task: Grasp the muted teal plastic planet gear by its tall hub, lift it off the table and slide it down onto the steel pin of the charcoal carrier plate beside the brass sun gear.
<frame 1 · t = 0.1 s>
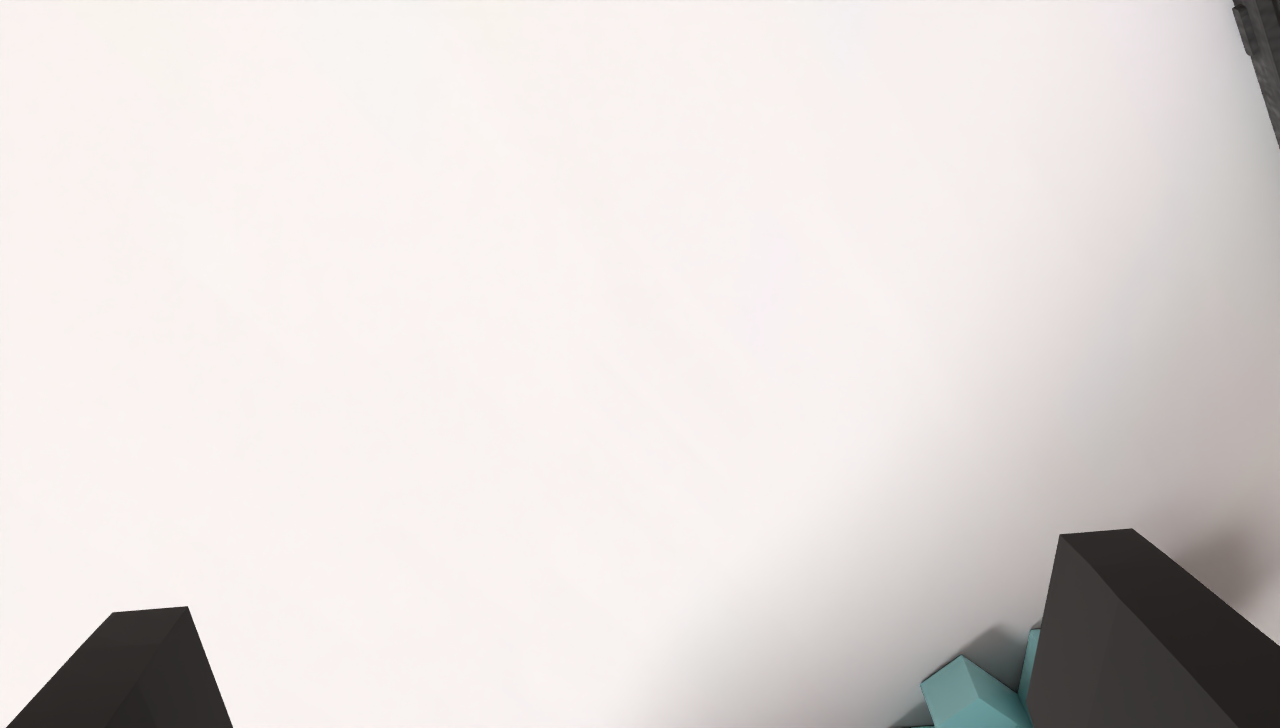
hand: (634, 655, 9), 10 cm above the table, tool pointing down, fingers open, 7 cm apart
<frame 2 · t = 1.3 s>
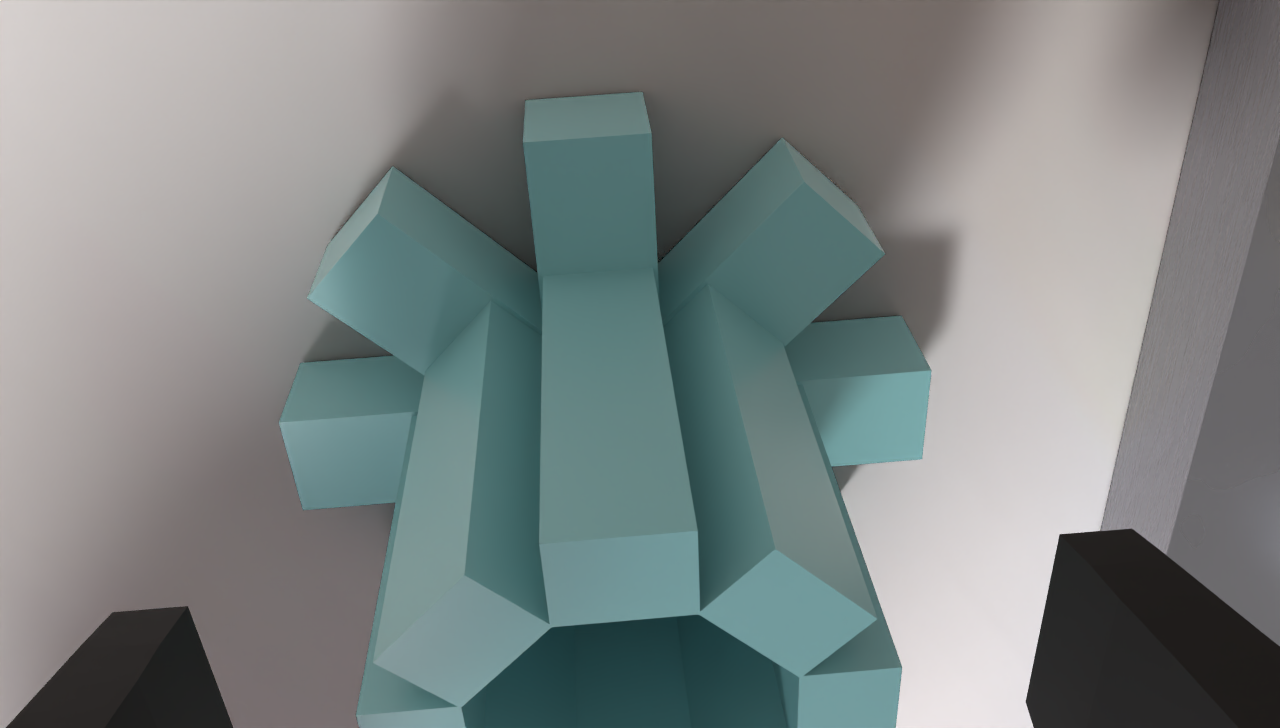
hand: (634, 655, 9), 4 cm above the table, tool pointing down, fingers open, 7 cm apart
planet gear: (606, 382, 13), on the table
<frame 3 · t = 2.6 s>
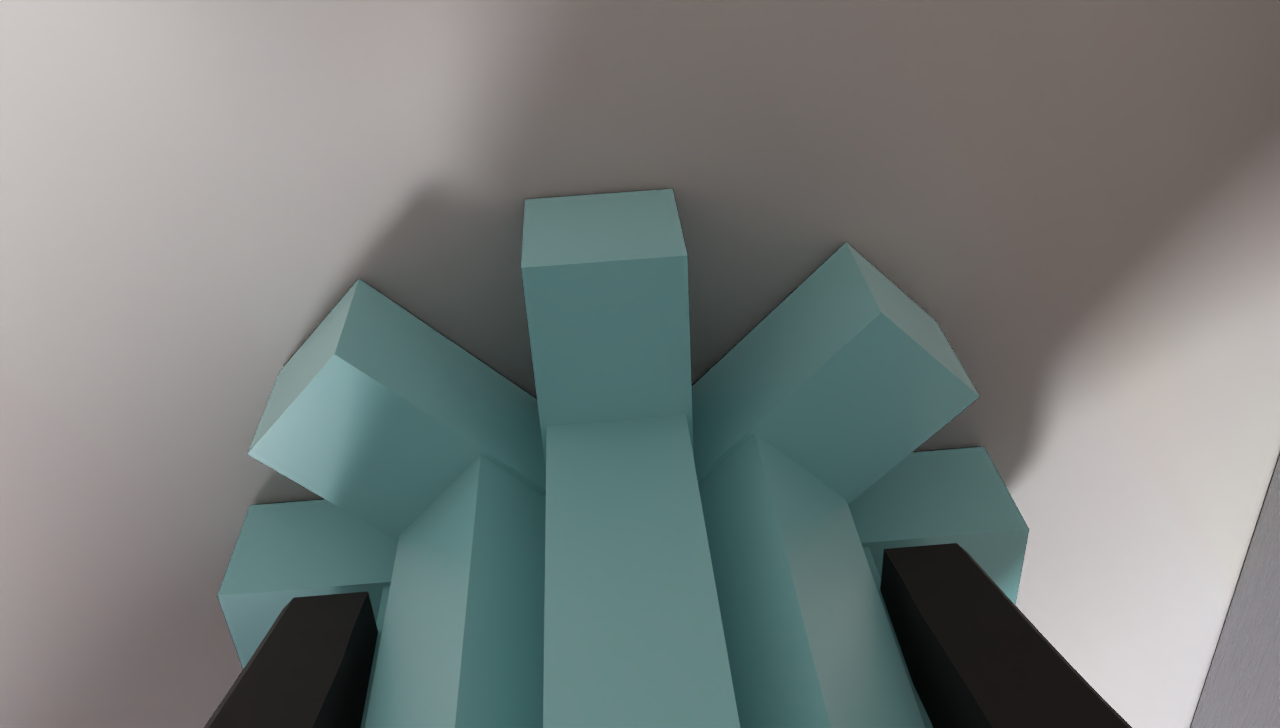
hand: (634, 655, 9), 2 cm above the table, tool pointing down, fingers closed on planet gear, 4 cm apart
planet gear: (624, 523, 11), on the table, touching gripper
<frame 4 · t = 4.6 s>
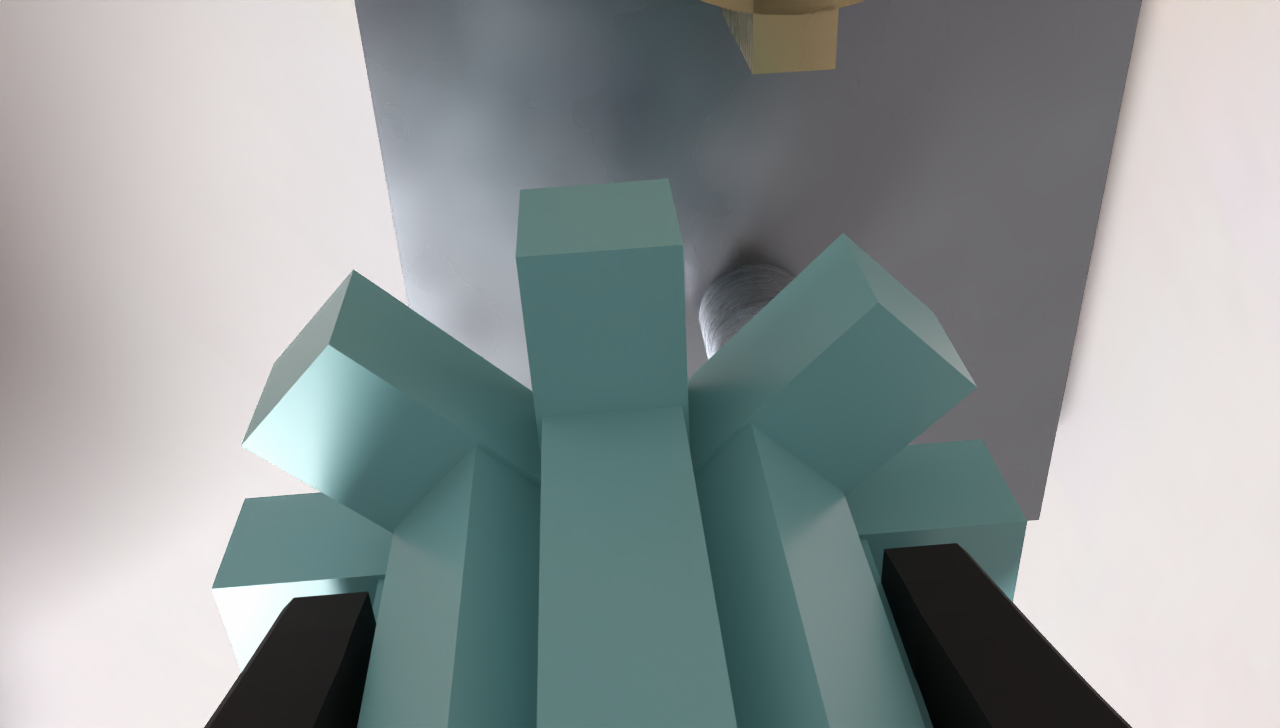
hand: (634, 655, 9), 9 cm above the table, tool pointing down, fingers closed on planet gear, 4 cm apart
planet gear: (620, 517, 11), point 7 cm above the table, touching gripper
carrier: (739, 47, 16), on the table
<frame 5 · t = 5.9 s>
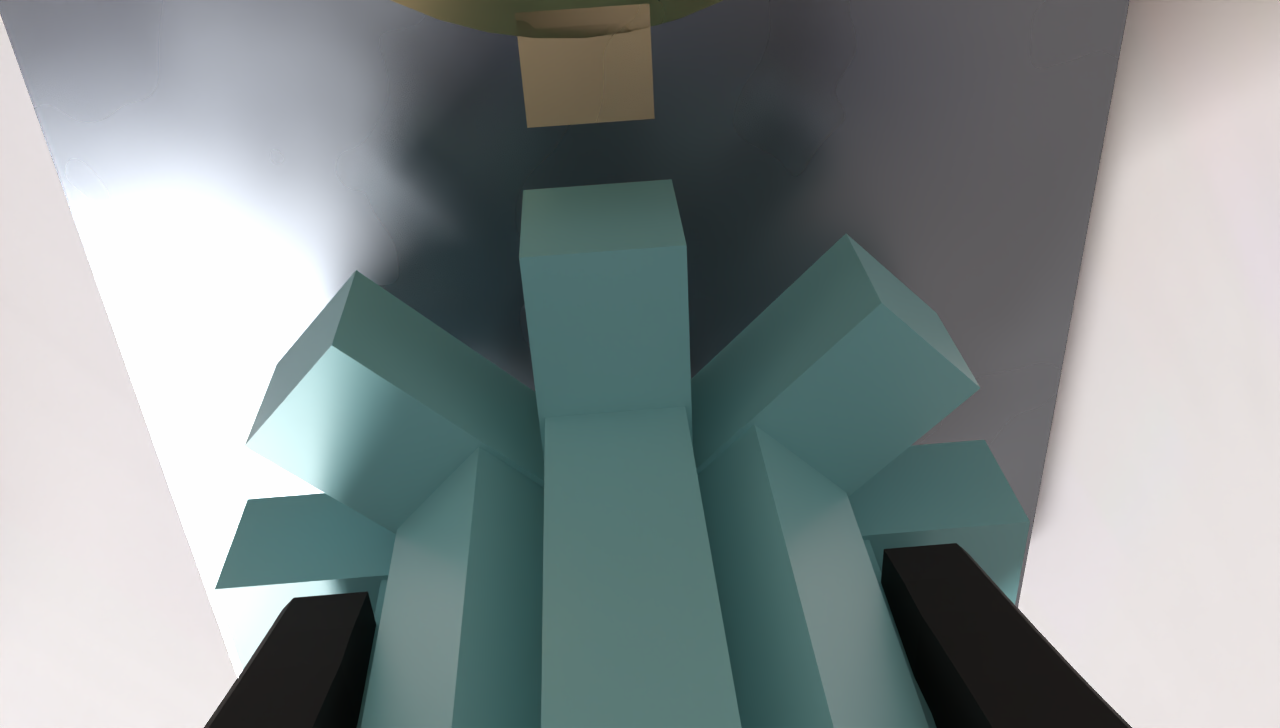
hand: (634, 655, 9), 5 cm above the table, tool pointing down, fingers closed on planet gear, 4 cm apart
planet gear: (623, 517, 11), point 3 cm above the table, touching gripper
carrier: (586, 72, 12), on the table
when the fingers open (4 cm above the table, at t = 6.9 s): planet gear stays where it is, resting on carrier.
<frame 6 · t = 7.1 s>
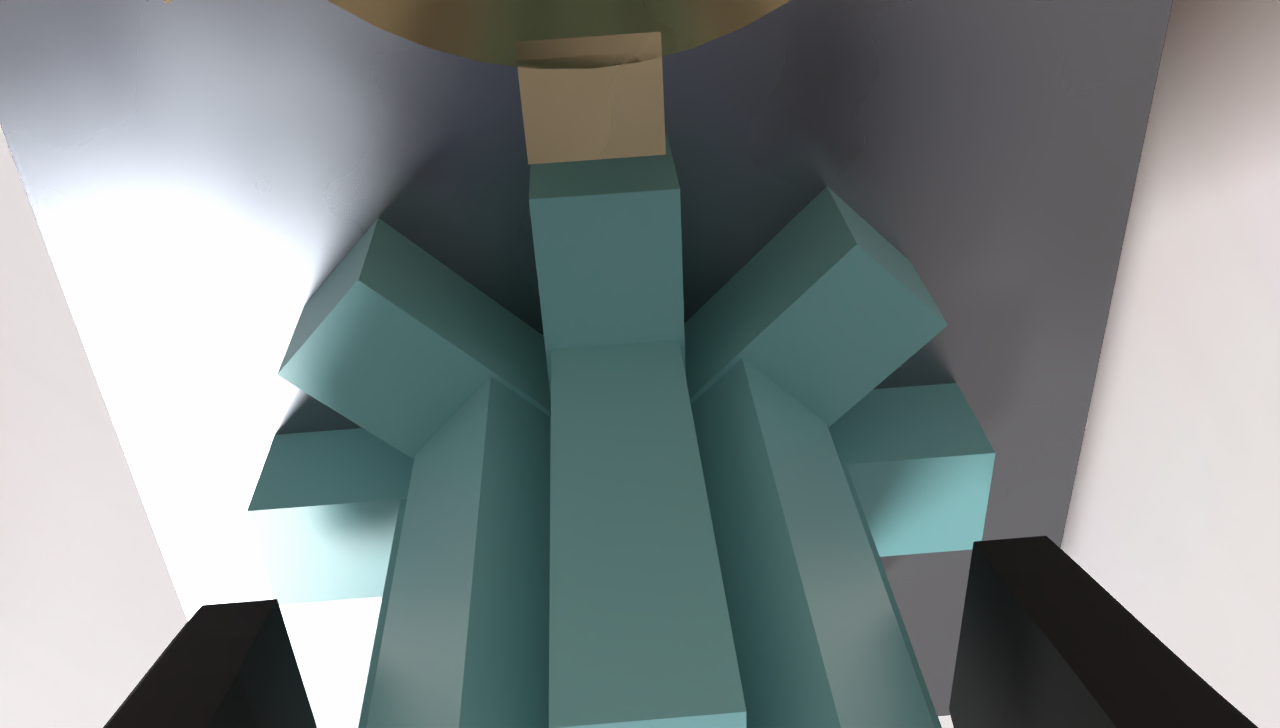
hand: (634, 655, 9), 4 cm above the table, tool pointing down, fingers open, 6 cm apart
planet gear: (621, 455, 12), point 1 cm above the table, touching carrier
carrier: (590, 92, 11), on the table
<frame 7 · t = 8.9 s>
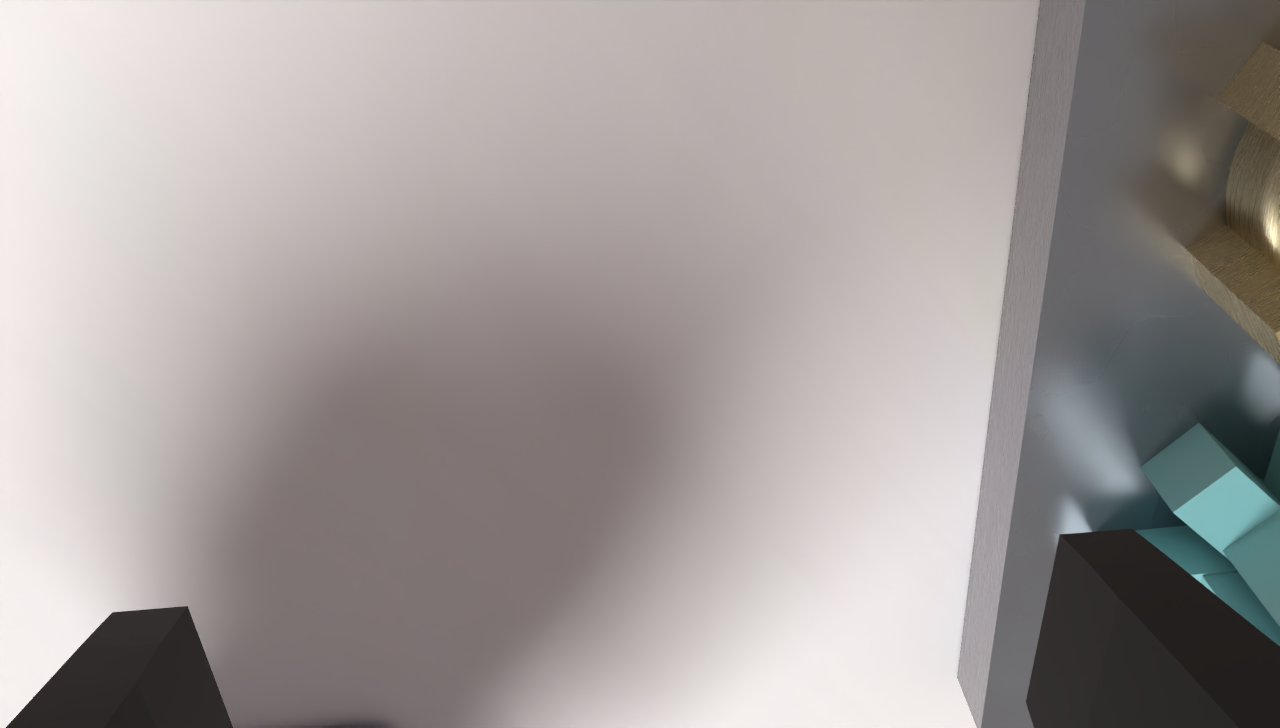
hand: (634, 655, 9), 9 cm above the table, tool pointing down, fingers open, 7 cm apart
planet gear: (1277, 541, 20), point 1 cm above the table, touching carrier
carrier: (1275, 339, 20), on the table
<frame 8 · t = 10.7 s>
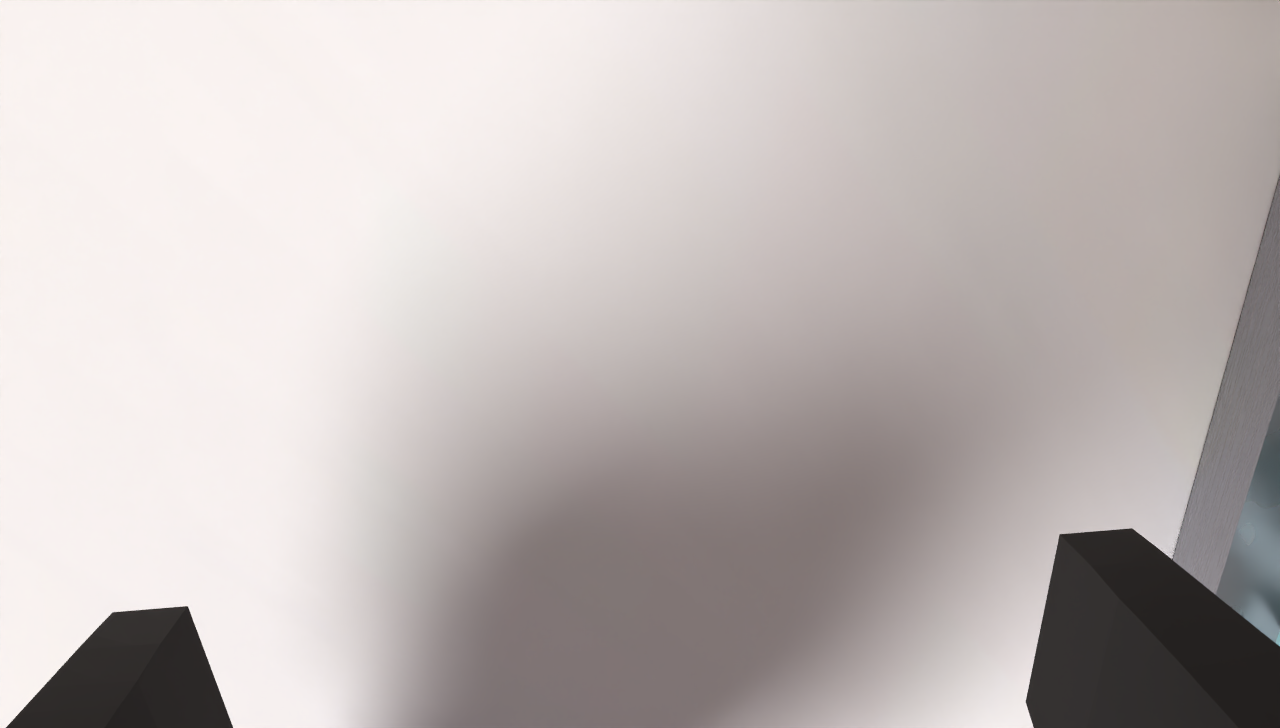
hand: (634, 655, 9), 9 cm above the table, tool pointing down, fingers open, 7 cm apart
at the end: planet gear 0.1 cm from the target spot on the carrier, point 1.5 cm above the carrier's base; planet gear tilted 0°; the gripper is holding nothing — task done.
